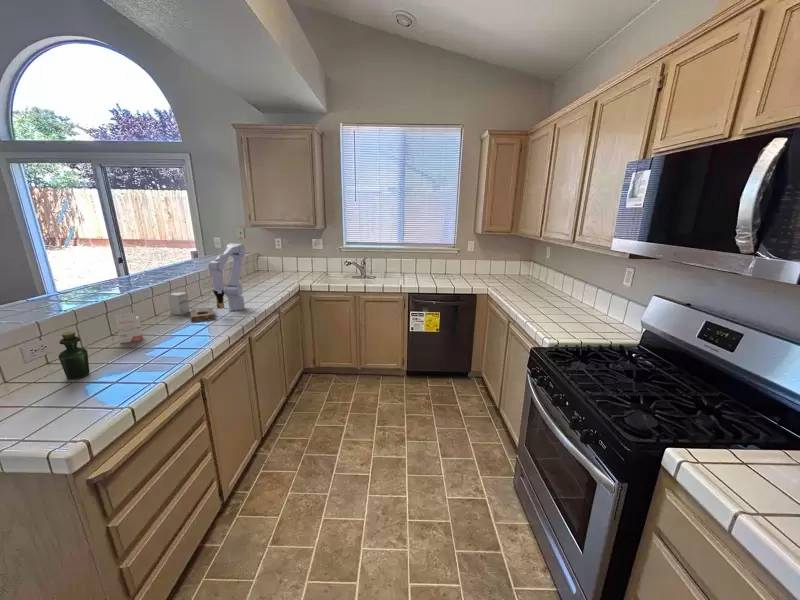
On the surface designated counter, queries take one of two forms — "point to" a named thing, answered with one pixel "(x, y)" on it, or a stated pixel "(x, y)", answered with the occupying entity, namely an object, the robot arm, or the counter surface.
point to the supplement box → (178, 303)
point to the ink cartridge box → (128, 328)
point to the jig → (202, 314)
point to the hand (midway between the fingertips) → (220, 302)
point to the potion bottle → (73, 357)
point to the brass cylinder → (220, 304)
